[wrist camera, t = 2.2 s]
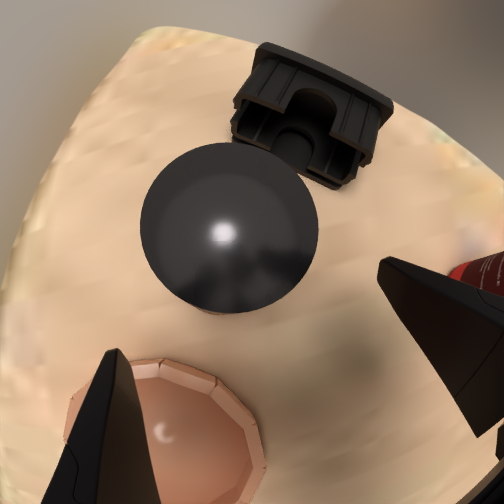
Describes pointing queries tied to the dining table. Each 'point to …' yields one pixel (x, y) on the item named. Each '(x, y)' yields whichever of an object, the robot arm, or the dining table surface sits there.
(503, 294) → the canned food
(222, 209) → the pepper mill
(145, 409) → the terracotta dish
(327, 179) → the end cap
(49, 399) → the dining table surface
